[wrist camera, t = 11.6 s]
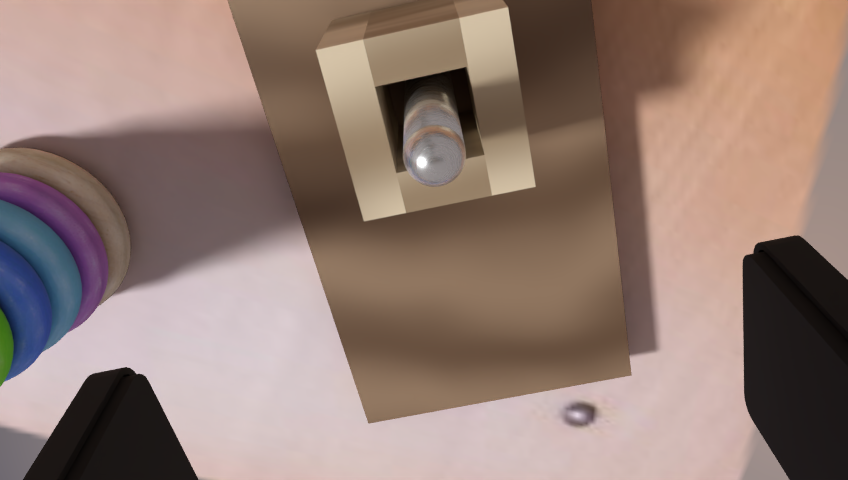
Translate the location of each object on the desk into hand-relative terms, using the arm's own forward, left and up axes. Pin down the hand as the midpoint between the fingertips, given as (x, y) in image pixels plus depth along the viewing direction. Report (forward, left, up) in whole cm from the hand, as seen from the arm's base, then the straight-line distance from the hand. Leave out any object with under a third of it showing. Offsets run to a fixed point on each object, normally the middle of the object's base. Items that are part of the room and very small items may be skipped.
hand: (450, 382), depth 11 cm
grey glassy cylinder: (0, 0, -18) cm, 18 cm away
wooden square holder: (0, 0, -18) cm, 18 cm away
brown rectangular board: (+5, 0, -20) cm, 21 cm away
